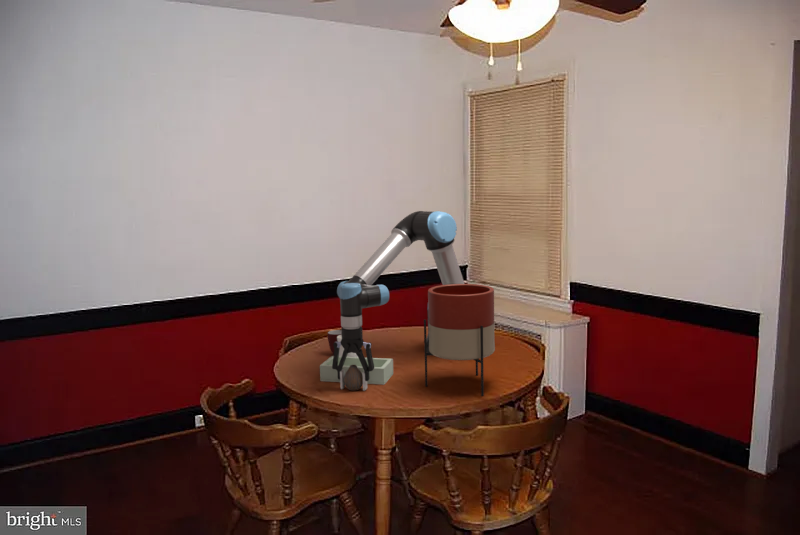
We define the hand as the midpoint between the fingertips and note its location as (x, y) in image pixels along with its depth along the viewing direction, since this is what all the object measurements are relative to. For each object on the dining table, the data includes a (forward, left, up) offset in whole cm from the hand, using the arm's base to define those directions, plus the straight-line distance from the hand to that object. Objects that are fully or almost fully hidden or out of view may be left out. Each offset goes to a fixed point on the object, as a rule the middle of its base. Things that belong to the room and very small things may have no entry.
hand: (353, 388), depth 228 cm
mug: (+20, -42, 0) cm, 47 cm away
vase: (0, 0, -1) cm, 1 cm away
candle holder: (+11, -28, -1) cm, 30 cm away
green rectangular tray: (+3, -13, 0) cm, 14 cm away
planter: (-37, -10, -1) cm, 38 cm away
